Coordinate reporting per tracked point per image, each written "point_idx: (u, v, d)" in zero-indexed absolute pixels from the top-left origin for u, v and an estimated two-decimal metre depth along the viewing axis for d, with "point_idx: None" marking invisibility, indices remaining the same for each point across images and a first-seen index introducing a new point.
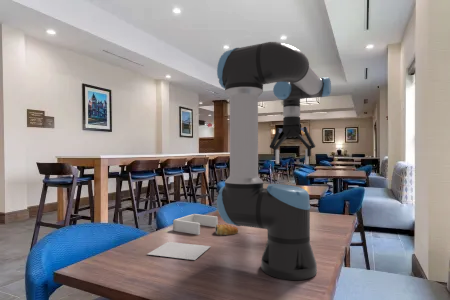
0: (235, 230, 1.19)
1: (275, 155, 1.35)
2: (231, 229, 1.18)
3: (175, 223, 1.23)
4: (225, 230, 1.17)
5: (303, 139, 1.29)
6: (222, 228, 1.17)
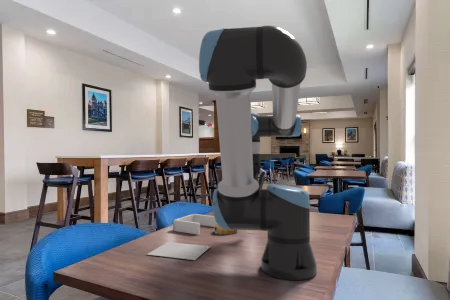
0: (234, 230, 1.19)
1: None
2: (230, 229, 1.19)
3: (175, 223, 1.23)
4: (224, 230, 1.17)
5: None
6: (221, 228, 1.18)
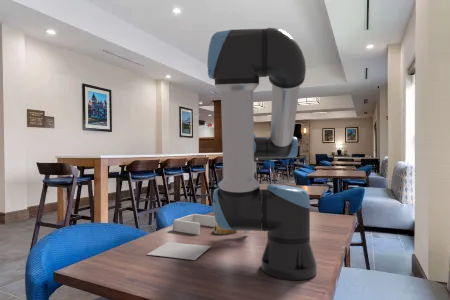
0: None
1: None
2: None
3: (175, 223, 1.23)
4: (224, 229, 1.18)
5: None
6: None
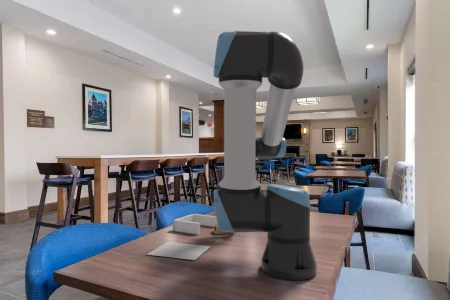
0: None
1: None
2: None
3: (175, 223, 1.23)
4: None
5: None
6: None
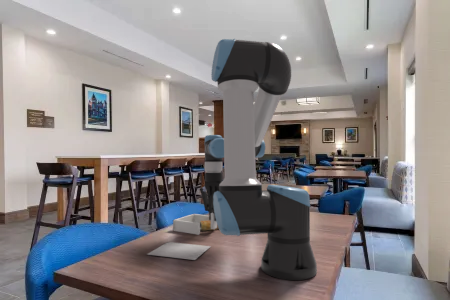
0: None
1: (210, 219, 1.22)
2: None
3: (175, 223, 1.23)
4: (209, 225, 1.23)
5: None
6: (206, 224, 1.24)
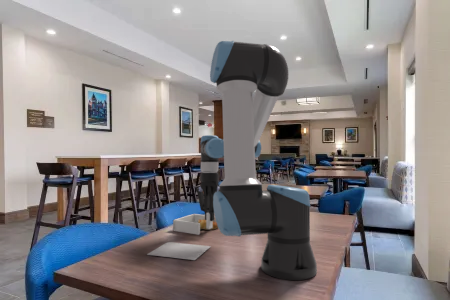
0: (215, 225, 1.26)
1: None
2: None
3: (175, 223, 1.23)
4: (204, 225, 1.25)
5: (212, 201, 1.22)
6: (202, 223, 1.25)
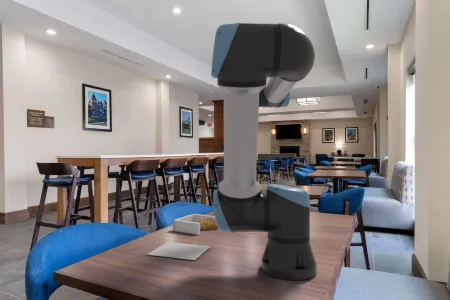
0: (214, 226, 1.26)
1: None
2: (210, 225, 1.25)
3: (175, 223, 1.23)
4: (204, 225, 1.25)
5: None
6: (201, 223, 1.26)
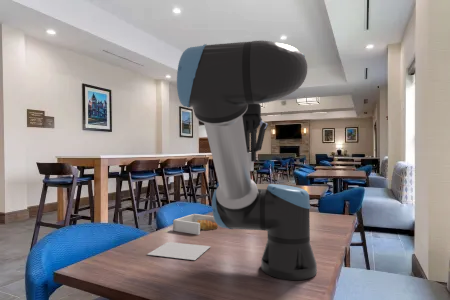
0: (213, 226, 1.26)
1: None
2: (209, 224, 1.26)
3: (175, 223, 1.23)
4: (203, 225, 1.25)
5: (254, 138, 1.02)
6: (201, 223, 1.26)
